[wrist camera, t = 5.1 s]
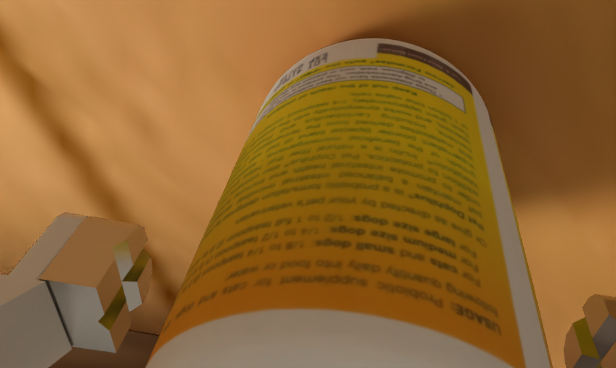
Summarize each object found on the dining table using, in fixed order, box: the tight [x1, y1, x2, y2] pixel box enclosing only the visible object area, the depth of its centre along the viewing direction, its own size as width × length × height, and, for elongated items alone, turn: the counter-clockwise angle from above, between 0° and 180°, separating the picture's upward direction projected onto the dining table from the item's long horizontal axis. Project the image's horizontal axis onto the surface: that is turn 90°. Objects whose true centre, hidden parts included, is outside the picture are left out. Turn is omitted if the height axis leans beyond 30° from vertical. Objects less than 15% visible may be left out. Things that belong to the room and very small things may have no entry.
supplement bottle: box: [145, 38, 553, 368], centre depth 9 cm, size 6×6×10 cm
